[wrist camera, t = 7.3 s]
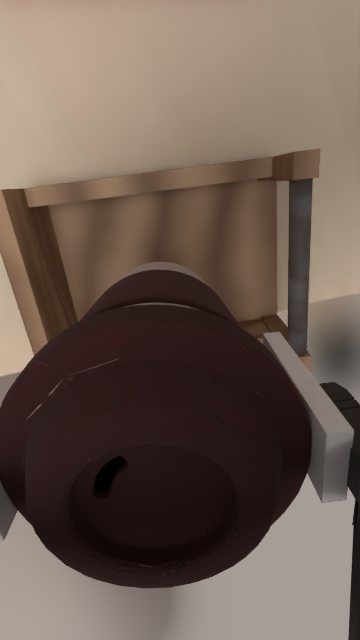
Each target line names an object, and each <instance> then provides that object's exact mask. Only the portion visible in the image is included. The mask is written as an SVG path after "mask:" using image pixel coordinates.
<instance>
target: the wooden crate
mask: <svg viewBox="0 0 360 640" xmlns="http://www.w3.org/2000/svg"><path fill="white" fill-rule="evenodd" d="M319 163H320V149H314V150H306V151H298V152H292V153H288V154H283V155H279V156H275V157H269V158H261V159H253V160H245V161H237V162H229V163H221V164H214V165H206V166H198V167H190V168H182V169H174V170H166V171H158V172H151V173H143V174H135V175H127V176H119V177H111V178H103V179H95V180H88V181H80V182H72V183H64V184H56V185H48V186H40V187H33V188H25V189H6V190H0V253H1V256H2V259H3V262H4V265H5V268H6V271H7V274H8V277H9V280H10V283H11V286H12V289H13V292H14V295H15V298H16V302H17V305H18V308H19V311H20V314H21V317H22V320H23V323H24V326H25V329H26V332H27V335H28V338H29V341H30V344H31V347H32V350H33V353H34V356H35V354H36V353H37V352H38V351H39V350H40V349H41V348H42V347H43V346H45V345H46V344H47V343H48V342H49V341H50V340H51V339H53V338H54V337H55V336H57V335H58V334H59V333H61V332H62V331H64V330H65V329H67V328H69V327H70V326H72V325H74V324H76V323H78V322H79V321H80V320H81V319H82V317H83V316H84V315H85V314H86V313H87V312H88V310H89V309H90V308H91V307H92V306H93V305H94V303H95V302H96V301H97V300H98V299H99V298H100V297H101V295H102V294H103V293H104V292H105V291H106V290H107V289H108V288H109V287H111V286H112V285H113V284H115V283H116V282H118V281H119V280H120V279H121V278H122V277H123V276H124V275H125V274H126V273H128V272H129V271H131V270H132V269H134V268H136V267H138V266H141V265H144V264H147V263H152V262H169V263H175V264H178V265H181V266H184V267H186V268H188V269H190V270H192V271H193V272H194V273H196V274H197V275H198V276H199V277H201V278H202V280H203V281H204V282H205V283H206V284H207V286H209V287H210V288H211V289H212V290H213V291H214V292H215V293H216V294H217V295H218V296H219V297H220V299H221V300H222V301H223V303H224V304H225V305H226V307H227V308H228V310H229V311H230V312H231V314H232V315H233V317H234V318H235V319H236V321H237V322H238V324H239V325H240V326H241V328H242V329H243V330H245V331H246V332H248V333H249V334H251V335H252V336H254V337H255V338H256V339H257V340H259V341H260V342H261V343H262V344H263V334H264V333H272V332H280V333H281V334H282V336H283V337H284V338H285V340H286V341H287V342H288V344H289V345H290V346H291V348H292V349H293V350H294V352H295V353H296V354H297V356H298V357H299V358H300V360H301V361H302V362H303V364H304V365H305V366H306V367H307V369H308V370H309V371H310V373H311V355H310V354H309V353H308V352H307V350H306V348H307V321H308V293H309V265H310V237H311V208H312V180H313V178H317V177H319ZM276 181H289V259H288V327H287V326H286V325H285V324H284V323H283V321H282V320H281V319H280V318H279V316H278V315H277V211H276Z"/></svg>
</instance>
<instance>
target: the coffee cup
mask: <svg viewBox="0 0 360 640" xmlns="http://www.w3.org/2000/svg"><path fill="white" fill-rule="evenodd" d="M311 445H312V434H311V427H310V422H309V418H308V414H307V411H306V407H305V405H304V403H303V401H302V399H301V397H300V395H299V392H298V391H297V389H296V387H295V386H294V384H293V383H292V381H291V379H290V378H289V376H288V375H287V373H286V371H285V370H284V368H283V367H282V365H281V364H280V363H279V361H278V360H277V359H276V357H275V356H274V355H273V354H272V353H271V352H270V351H269V350H268V349H267V347H266V346H265V345H263V344H262V343H261V342H260V341H259V340H257V339H256V338H255V337H254V336H252V335H251V334H249V333H248V332H246V331H245V330H243V329H242V328H241V326H240V325H239V324H238V322H237V321H236V319H235V318H234V317H233V315H232V314H231V312H230V311H229V310H228V308H227V307H226V305H225V304H224V303H223V301H222V300H221V299H220V297H219V296H218V295H217V294H216V293H215V292H214V291H213V290H212V289H211V288H210V287H209V286H207V284H206V283H205V282H204V281H203V280H202V278H201V277H199V276H198V275H197V274H196V273H194V272H193V271H192V270H190V269H188V268H186V267H184V266H181V265H178V264H175V263H169V262H152V263H147V264H144V265H141V266H138V267H136V268H134V269H132V270H131V271H129V272H128V273H126V274H125V275H124V276H123V277H122V278H121V279H120V280H119V281H118V282H116V283H115V284H113V285H112V286H111V287H109V288H108V289H107V290H106V291H105V292H104V293H103V294H102V295H101V297H100V298H99V299H98V300H97V301H96V302H95V303H94V305H93V306H92V307H91V308H90V309H89V310H88V312H87V313H86V314H85V315H84V316H83V317H82V319H81V320H80V321H79V322H78V323H76V324H74V325H72V326H70V327H69V328H67V329H65V330H64V331H62V332H61V333H59V334H58V335H57V336H55V337H54V338H53V339H51V340H50V341H49V342H48V343H47V344H46V345H45V346H43V347H42V348H41V349H40V350H39V351H38V352H37V353H36V354H35V356H34V357H33V358H32V359H31V361H30V362H29V363H28V364H27V366H26V367H25V368H24V370H23V371H22V372H21V374H20V375H19V376H18V378H17V379H16V381H15V382H14V383H13V385H12V386H11V388H10V389H9V390H8V392H7V394H6V396H5V398H4V400H3V402H2V404H1V406H0V481H1V484H2V486H3V488H4V490H5V492H6V493H7V495H8V497H9V498H10V500H11V502H12V503H13V505H14V506H15V508H16V509H17V510H18V511H19V512H20V513H21V514H22V515H23V516H24V517H25V519H26V520H27V521H28V522H29V523H30V524H31V525H32V526H33V528H34V530H35V533H36V534H37V535H38V537H39V538H40V540H41V541H42V543H43V544H44V545H45V547H46V548H47V549H48V550H49V551H50V552H52V553H53V554H54V555H55V556H56V557H57V558H58V559H59V560H61V561H62V562H63V563H64V564H65V565H67V566H69V567H71V568H73V569H75V570H76V571H78V572H80V573H82V574H84V575H86V576H88V577H91V578H93V579H96V580H100V581H103V582H107V583H111V584H115V585H119V586H128V587H138V588H166V587H174V586H180V585H185V584H190V583H194V582H198V581H201V580H203V579H207V578H209V577H212V576H214V575H217V574H218V573H220V572H222V571H224V570H226V569H228V568H230V567H232V566H234V565H235V564H237V563H238V562H239V561H241V560H242V559H244V558H245V557H246V556H247V555H248V554H249V553H250V552H251V551H252V550H254V548H256V547H257V546H258V544H259V543H260V542H261V540H262V539H263V537H264V536H265V535H266V533H267V532H268V530H269V529H270V526H271V525H272V524H273V523H274V522H275V521H276V520H277V519H278V518H279V517H280V516H281V515H282V514H283V513H284V512H285V511H286V509H287V508H288V507H289V505H290V504H291V503H292V501H293V500H294V499H295V497H296V496H297V494H298V492H299V490H300V488H301V486H302V483H303V481H304V479H305V477H306V474H307V471H308V468H309V465H310V459H311Z"/></svg>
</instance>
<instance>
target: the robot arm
mask: <svg viewBox="0 0 360 640" xmlns="http://www.w3.org/2000/svg"><path fill="white" fill-rule="evenodd" d="M263 345H265V346H266V347H267V349H268V350H269V351H270V352H271V353H272V354H273V355H274V356H275V357H276V359H277V360H278V361H279V363H280V364H281V365H282V367H283V368H284V370H285V371H286V373H287V375H288V376H289V378H290V379H291V381H292V383H293V384H294V386H295V387H296V389H297V391H298V392H299V395H300V397H301V399H302V401H303V403H304V405H305V407H306V411H307V414H308V418H309V422H310V427H311V434H312V445H311V459H310V465H309V468H308V471H307V473H308V475H309V477H310V479H311V481H312V483H313V485H314V488H315V490H316V491H317V494H318V496H319V498H320V500H321V502H322V503H324V502H333V501H342V500H346V499H347V490H348V487H349V489H350V491H351V492H352V494H353V495H354V497H355V507H354V516H353V523H352V525H354V529H353V552H352V573H351V595H350V618H349V639H348V640H360V404H359V403H358V402H357V401H356V400H354V397H353V396H352V395H351V394H350V393H349V392H348V391H347V389H345V388H343V387H342V386H340V385H338V384H336V383H335V382H331V383H322V384H319V383H318V382H317V381H316V379H315V378H314V377H313V375H312V374H311V373H310V371H309V370H308V369H307V367H306V366H305V365H304V364H303V362H302V361H301V360H300V358H299V357H298V356H297V354H296V353H295V352H294V350H293V349H292V348H291V346H290V345H289V344H288V342H287V341H286V340H285V338H284V337H283V336H282V334H281V333H280V332H272V333H264V334H263ZM17 511H18V510H17V509H16V508H15V506H14V505H13V503H12V502H11V500H10V498H9V497H8V495H7V493H6V492H5V490H4V488H3V486H2V484H1V481H0V541H2V540H4V539H5V537H6V535H7V533H8V530H9V528H10V526H11V524H12V521H13V520H14V517H15V515H16V513H17Z"/></svg>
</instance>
